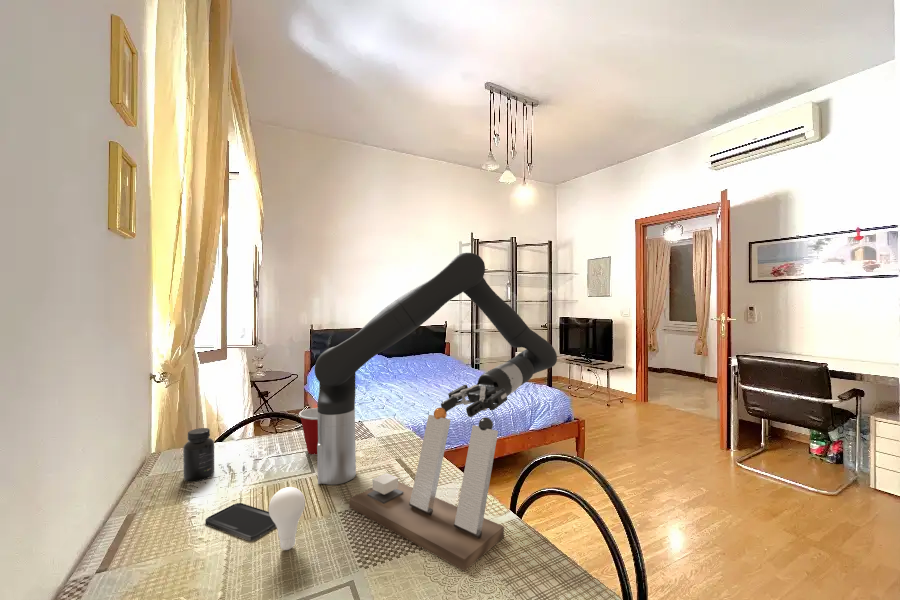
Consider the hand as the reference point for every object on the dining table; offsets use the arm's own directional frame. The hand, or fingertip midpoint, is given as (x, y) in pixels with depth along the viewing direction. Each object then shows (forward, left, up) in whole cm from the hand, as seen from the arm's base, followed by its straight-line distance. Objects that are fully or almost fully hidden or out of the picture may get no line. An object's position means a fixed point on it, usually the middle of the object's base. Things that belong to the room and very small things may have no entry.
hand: (454, 410), depth 86 cm
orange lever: (-9, -5, -18) cm, 20 cm away
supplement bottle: (-61, +32, -21) cm, 72 cm away
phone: (-44, +5, -21) cm, 49 cm away
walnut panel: (-9, -5, -20) cm, 23 cm away
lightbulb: (-34, -7, -21) cm, 40 cm away
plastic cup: (-32, +41, -21) cm, 56 cm away
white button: (-15, +4, -18) cm, 24 cm away
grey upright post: (-2, -15, -18) cm, 23 cm away
